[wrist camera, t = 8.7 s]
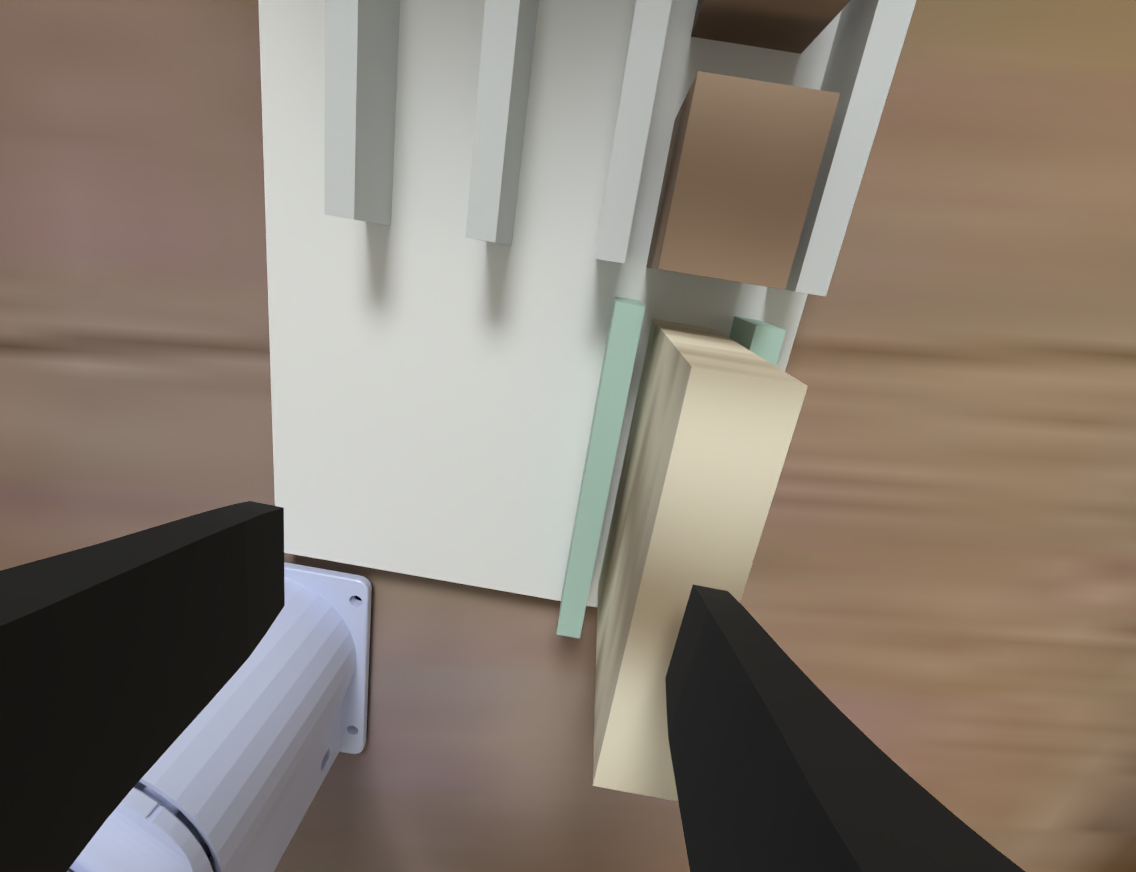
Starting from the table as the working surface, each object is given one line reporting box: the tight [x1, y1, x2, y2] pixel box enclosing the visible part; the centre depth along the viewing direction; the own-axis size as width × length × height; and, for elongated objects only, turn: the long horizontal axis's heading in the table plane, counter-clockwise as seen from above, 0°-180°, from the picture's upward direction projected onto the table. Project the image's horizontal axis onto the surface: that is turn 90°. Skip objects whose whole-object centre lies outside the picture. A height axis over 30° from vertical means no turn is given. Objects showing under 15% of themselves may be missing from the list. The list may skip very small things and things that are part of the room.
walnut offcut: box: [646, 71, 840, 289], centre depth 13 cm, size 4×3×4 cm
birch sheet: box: [593, 319, 808, 801], centre depth 14 cm, size 10×2×8 cm, turn 171°
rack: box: [258, 0, 916, 638], centre depth 16 cm, size 24×17×4 cm
